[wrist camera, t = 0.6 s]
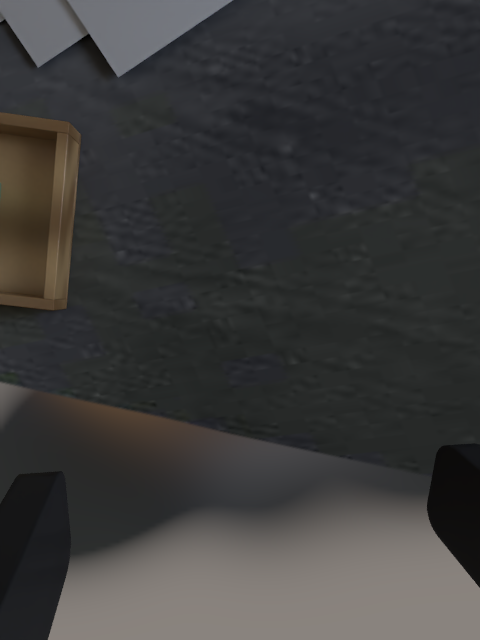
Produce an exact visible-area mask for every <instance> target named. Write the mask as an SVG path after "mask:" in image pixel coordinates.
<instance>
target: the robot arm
mask: <svg viewBox="0 0 480 640" xmlns="http://www.w3.org/2000/svg"><path fill="white" fill-rule="evenodd" d="M427 511H428V516H429V520H430V523H431V526H432V527H433V530H434V531H435V533H436V534H437V536H438V537H439V538H440V539H441V541H442V542H443V543H444V544H445V546H446V547H447V548H448V549H449V550H450V552H451V553H452V554H453V555H454V557H455V558H456V559H457V560H458V562H459V563H460V564H461V565H462V566H463V568H464V569H465V570H466V571H467V573H468V574H469V575H470V576H471V578H472V579H473V580H474V581H475V582H476V584H477V585H478V586H479V587H480V445H479V444H461V445H446V446H442V447H441V448H440V449H439V450H438V452H437V454H436V459H435V464H434V470H433V475H432V481H431V486H430V492H429V496H428V502H427ZM70 548H71V536H70V525H69V514H68V504H67V493H66V483H65V477H64V474H63V472H62V471H59V472H47V473H46V472H45V473H30V474H20V475H18V476H17V477H16V478H15V480H14V482H13V483H12V485H11V487H10V489H9V490H8V492H7V494H6V495H5V497H4V499H3V501H2V502H1V504H0V640H48V637H49V633H50V630H51V626H52V622H53V620H54V616H55V613H56V609H57V606H58V602H59V599H60V595H61V592H62V588H63V585H64V581H65V578H66V574H67V570H68V565H69V559H70Z"/></svg>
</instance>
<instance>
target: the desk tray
mask: <svg viewBox="0 0 480 640" xmlns="http://www.w3.org/2000/svg"><path fill="white" fill-rule="evenodd" d="M80 145H81V134H80V133H79V132H78V131H77V130H76V129H75V128H74V127H73V126H72V125H71V124H70V122H66V121H58V120H51V119H44V118H37V117H30V116H23V115H16V114H9V113H1V112H0V183H1V198H0V304H1V305H9V306H18V307H27V308H35V309H44V310H60V309H66V306H67V295H68V283H69V272H70V260H71V249H72V237H73V226H74V214H75V203H76V191H77V180H78V168H79V157H80Z"/></svg>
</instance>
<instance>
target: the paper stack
mask: <svg viewBox="0 0 480 640" xmlns="http://www.w3.org/2000/svg"><path fill="white" fill-rule="evenodd" d="M231 1H233V0H0V22H2V21H3V20H5V19H6V21H7V22H8V24H9V25H10V27H11V28H12V30H13V31H14V33H15V34H16V36H17V37H18V39H19V40H20V42H21V43H22V44H23V46H24V47H25V49H26V50H27V52H28V53H29V55H30V56H31V58H32V59H33V61H34V62H35V64H36V65H37V67H40V66H41V65H43V64H44V63H46V62H47V61H49V60H50V59H52V58H53V57H55V56H56V55H58V54H59V53H61V52H62V51H64V50H65V49H67V48H68V47H70V46H71V45H73V44H74V43H76V42H77V41H78V40H80V39H81V38H83V37H84V36H86V35H87V34H90V35H91V37H92V39H93V40H94V42H95V43H96V45H97V46H98V48H99V49H100V51H101V52H102V54H103V55H104V57H105V58H106V60H107V61H108V63H109V64H110V66H111V67H112V69H113V70H114V72H115V73H116V75H117V76H118V77H120V76H121V75H123V74H124V73H126V72H127V71H129V70H130V69H132V68H133V67H135V66H136V65H138V64H139V63H141V62H142V61H144V60H145V59H147V58H148V57H150V56H151V55H152V54H154V53H155V52H157V51H158V50H160V49H161V48H163V47H164V46H166V45H167V44H169V43H170V42H172V41H173V40H175V39H176V38H178V37H179V36H181V35H182V34H184V33H185V32H187V31H188V30H190V29H191V28H193V27H194V26H196V25H197V24H199V23H200V22H201V21H203V20H204V19H206V18H207V17H209V16H210V15H212V14H213V13H215V12H216V11H218V10H219V9H221V8H222V7H224V6H225V5H227V4H228V3H230V2H231Z"/></svg>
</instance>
